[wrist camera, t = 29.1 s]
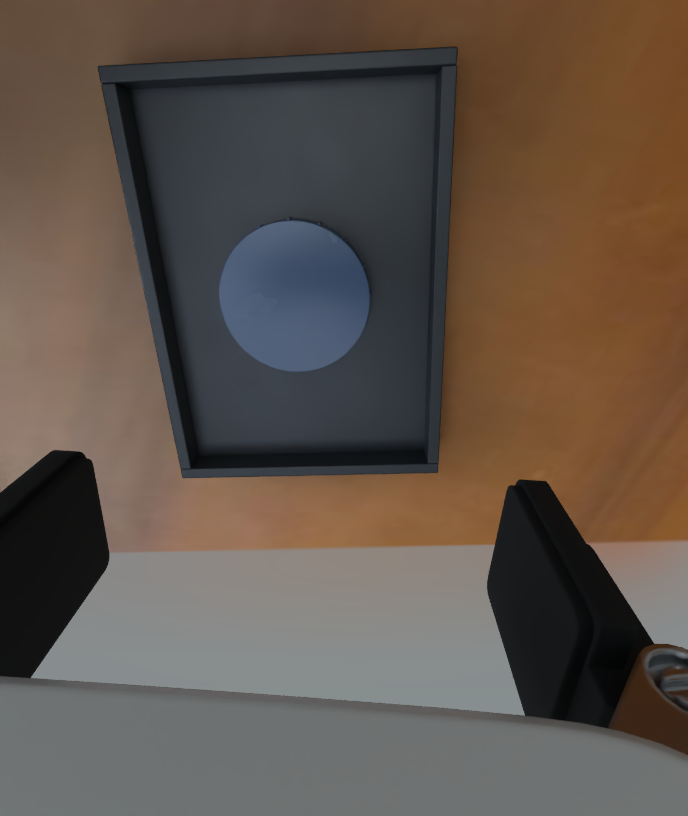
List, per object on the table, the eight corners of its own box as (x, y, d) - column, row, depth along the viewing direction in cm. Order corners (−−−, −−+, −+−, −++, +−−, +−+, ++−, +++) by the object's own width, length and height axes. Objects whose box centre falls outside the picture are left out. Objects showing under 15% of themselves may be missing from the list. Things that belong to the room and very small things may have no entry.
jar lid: (230, 206, 23) (221, 208, 21) (381, 230, 23) (382, 233, 21) (224, 350, 26) (215, 361, 24) (357, 370, 26) (357, 382, 24)
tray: (432, 452, 29) (438, 473, 27) (194, 457, 29) (182, 478, 27) (447, 60, 21) (458, 45, 19) (122, 77, 21) (96, 65, 19)
